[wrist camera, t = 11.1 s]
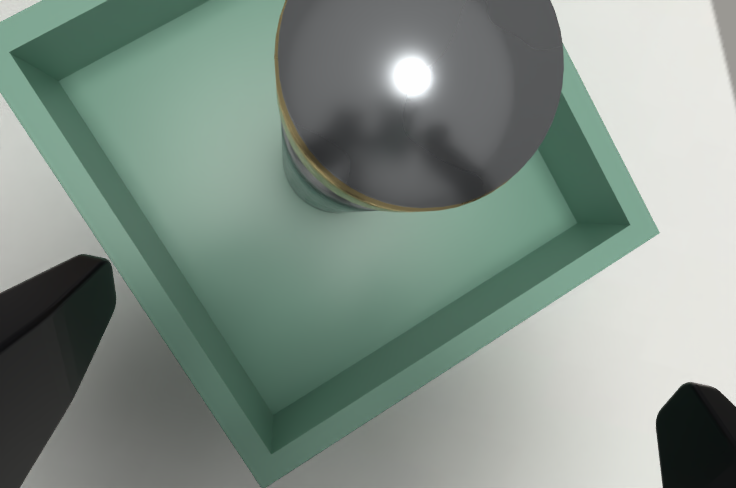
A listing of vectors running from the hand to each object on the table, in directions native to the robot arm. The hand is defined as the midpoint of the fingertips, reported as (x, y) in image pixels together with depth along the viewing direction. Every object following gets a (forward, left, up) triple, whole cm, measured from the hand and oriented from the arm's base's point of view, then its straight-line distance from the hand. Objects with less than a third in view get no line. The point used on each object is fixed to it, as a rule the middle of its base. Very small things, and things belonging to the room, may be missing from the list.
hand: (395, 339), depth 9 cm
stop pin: (+2, +3, -12) cm, 13 cm away
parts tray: (+2, +3, -13) cm, 13 cm away
